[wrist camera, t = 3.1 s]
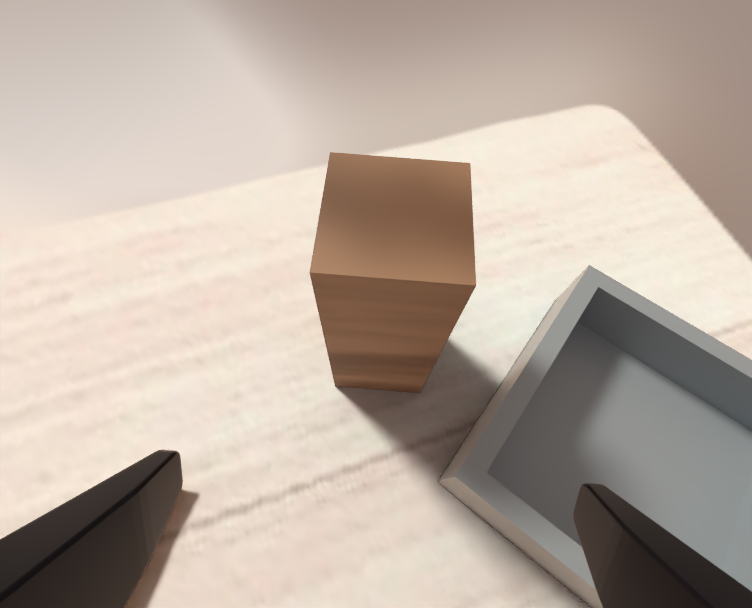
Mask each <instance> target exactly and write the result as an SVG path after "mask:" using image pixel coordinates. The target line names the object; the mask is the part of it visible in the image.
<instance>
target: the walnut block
mask: <svg viewBox="0 0 752 608" xmlns="http://www.w3.org/2000/svg"><path fill="white" fill-rule="evenodd" d="M310 276H311V280H312V285H313V289H314V294H315V298H316V303H317V307H318V312H319V316H320V320H321V325H322V329H323V334H324V338H325V343H326V347H327V352H328V356H329V360H330V365H331V369H332V374H333V378H334V383H335V386H339V387H352V388H364V389H377V390H390V391H402V392H415V393H420V391H421V389H422V387H423V385H424V383H425V381H426V380H427V378H428V376H429V374H430V372H431V370H432V368H433V366H434V364H435V362H436V361H437V359H438V357H439V355H440V353H441V351H442V349H443V347H444V345H445V343H446V342H447V340H448V338H449V336H450V334H451V332H452V330H453V328H454V326H455V324H456V323H457V321H458V319H459V317H460V315H461V313H462V311H463V309H464V307H465V305H466V304H467V302H468V300H469V298H470V296H471V294H472V292H473V290H474V288H475V286H476V275H475V254H474V233H473V212H472V191H471V170H470V163H461V162H448V161H435V160H422V159H409V158H396V157H383V156H370V155H357V154H344V153H331V152H330V157H329V162H328V168H327V174H326V180H325V186H324V192H323V197H322V203H321V209H320V215H319V221H318V227H317V233H316V239H315V244H314V250H313V256H312V262H311V268H310Z"/></svg>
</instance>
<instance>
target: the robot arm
mask: <svg viewBox="0 0 752 608" xmlns="http://www.w3.org/2000/svg"><path fill="white" fill-rule="evenodd" d="M182 483H183V479H182V469H181V459H180V454H179V453H178V452H177V451H171V450H158V451H156V452H154V453H153V454H151V455H149V456H147V457H145V458H144V459H142V460H140V461H138V462H137V463H135V464H133V465H131V466H129V467H128V468H126V469H124V470H122V471H121V472H119V473H117V474H115V475H114V476H112V477H110V478H108V479H106V480H105V481H103V482H101V483H99V484H98V485H96V486H94V487H92V488H91V489H89V490H87V491H85V492H83V493H82V494H80V495H78V496H76V497H75V498H73V499H71V500H69V501H67V502H66V503H64V504H62V505H60V506H59V507H57V508H55V509H53V510H52V511H50V512H48V513H46V514H44V515H43V516H41V517H39V518H37V519H36V520H34V521H32V522H30V523H28V524H27V525H25V526H23V527H21V528H20V529H18V530H16V531H14V532H12V533H11V534H9V535H7V536H5V537H4V538H2V539H0V608H124V607H125V605H126V603H127V602H128V600H129V598H130V596H131V594H132V593H133V591H134V589H135V587H136V585H137V584H138V582H139V580H140V578H141V576H142V575H143V573H144V571H145V569H146V567H147V565H148V563H149V561H150V559H151V557H152V555H153V553H154V551H155V549H156V546H157V544H158V542H159V540H160V537H161V535H162V533H163V530H164V528H165V526H166V524H167V521H168V519H169V517H170V515H171V512H172V510H173V508H174V505H175V503H176V501H177V499H178V496H179V494H180V492H181V488H182ZM573 519H574V524H575V527H576V530H577V533H578V536H579V539H580V542H581V545H582V549H583V552H584V555H585V558H586V561H587V564H588V567H589V570H590V573H591V576H592V579H593V582H594V585H595V588H596V591H597V594H598V597H599V599H600V602H601V604H602V607H603V608H752V591H750V590H749V589H748V588H746V587H745V586H744V585H742V584H741V583H739V582H738V581H737V580H735V579H734V578H732V577H731V576H730V575H728V574H727V573H725V572H724V571H723V570H721V569H720V568H719V567H717V566H716V565H714V564H713V563H712V562H710V561H709V560H707V559H706V558H705V557H703V556H702V555H700V554H699V553H698V552H696V551H695V550H693V549H692V548H691V547H689V546H688V545H687V544H685V543H684V542H682V541H681V540H680V539H678V538H677V537H675V536H674V535H673V534H671V533H670V532H668V531H667V530H666V529H664V528H663V527H662V526H660V525H659V524H657V523H656V522H655V521H653V520H652V519H650V518H649V517H648V516H646V515H645V514H643V513H642V512H641V511H639V510H638V509H636V508H635V507H634V506H632V505H631V504H630V503H628V502H627V501H625V500H624V499H623V498H621V497H620V496H618V495H617V494H616V493H614V492H613V491H611V490H610V489H609V488H607V487H606V486H604V485H602V484H595V483H584V484H582V485H581V487H580V490H579V494H578V497H577V500H576V504H575V507H574V511H573Z"/></svg>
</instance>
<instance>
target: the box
mask: <svg viewBox="0 0 752 608" xmlns="http://www.w3.org/2000/svg"><path fill="white" fill-rule="evenodd" d="M437 482H439V483H440V484H441V485H442V486H444V487H445V488H446V489H447V490H448V491H450V492H451V493H452V494H453V495H455V496H456V497H457V498H458V499H459V500H461V501H462V502H463V503H464V504H466V505H467V506H468V507H469V508H470V509H472V510H473V511H474V512H475V513H477V514H478V515H479V516H480V517H481V518H483V519H484V520H485V521H486V522H488V523H489V524H490V525H491V526H492V527H494V528H495V529H496V530H497V531H499V532H500V533H501V534H502V535H503V536H505V537H506V538H507V539H508V540H510V541H511V542H512V543H513V544H514V545H516V546H517V547H518V548H519V549H520V550H522V551H523V552H524V553H525V554H527V555H528V556H529V557H530V558H531V559H533V560H534V561H535V562H536V563H538V564H539V565H540V566H541V567H542V568H544V569H545V570H546V571H547V572H549V573H550V574H551V575H552V576H553V577H555V578H556V579H557V580H558V581H560V582H561V583H562V584H563V585H564V586H566V587H567V588H568V589H569V590H571V591H572V592H573V593H574V594H575V595H577V596H578V597H579V598H580V599H582V600H583V601H584V602H585V603H586V604H588V605H589V606H590V607H591V608H603V607H602V604H601V602H600V599H599V597H598V594H597V591H596V588H595V585H594V582H593V579H592V576H591V573H590V570H589V567H588V564H587V561H586V558H585V555H584V552H583V549H582V545H581V542H580V539H579V536H578V533H577V530H576V527H575V524H574V519H573V511H574V507H575V504H576V500H577V497H578V494H579V490H580V487H581V485H582V484H584V483H595V484H602V485H604V486H606V487H607V488H609V489H610V490H611V491H613V492H614V493H616V494H617V495H618V496H620V497H621V498H623V499H624V500H625V501H627V502H628V503H630V504H631V505H632V506H634V507H635V508H636V509H638V510H639V511H641V512H642V513H643V514H645V515H646V516H648V517H649V518H650V519H652V520H653V521H655V522H656V523H657V524H659V525H660V526H662V527H663V528H664V529H666V530H667V531H668V532H670V533H671V534H673V535H674V536H675V537H677V538H678V539H680V540H681V541H682V542H684V543H685V544H687V545H688V546H689V547H691V548H692V549H693V550H695V551H696V552H698V553H699V554H700V555H702V556H703V557H705V558H706V559H707V560H709V561H710V562H712V563H713V564H714V565H716V566H717V567H719V568H720V569H721V570H723V571H724V572H725V573H727V574H728V575H730V576H731V577H732V578H734V579H735V580H737V581H738V582H739V583H741V584H742V585H744V586H745V587H746V588H748V589H749V590H750V591H752V360H751V359H749V358H747V357H746V356H744V355H742V354H741V353H739V352H737V351H735V350H734V349H732V348H730V347H729V346H727V345H725V344H723V343H722V342H720V341H718V340H717V339H715V338H713V337H711V336H710V335H708V334H706V333H705V332H703V331H701V330H699V329H698V328H696V327H694V326H693V325H691V324H689V323H687V322H686V321H684V320H682V319H681V318H679V317H677V316H675V315H674V314H672V313H670V312H669V311H667V310H665V309H663V308H662V307H660V306H658V305H657V304H655V303H653V302H651V301H650V300H648V299H646V298H645V297H643V296H641V295H639V294H638V293H636V292H634V291H633V290H631V289H629V288H627V287H626V286H624V285H622V284H621V283H619V282H617V281H615V280H614V279H612V278H610V277H609V276H607V275H605V274H604V273H602V272H600V271H598V270H597V269H595V268H593V267H592V266H590V265H589V266H588V267H587V268H586V269H585V270H584V271H583V272H582V273H581V274H580V275H579V276H578V277H577V278H576V279H575V281H574V282H573V283H572V284H571V285H570V286H569V287H568V288H567V289H566V290H565V291H564V292H563V293H562V294H561V295H560V296H559V297H558V298H557V299H556V300H555V302H554V303H553V305H552V306H551V308H550V309H549V311H548V312H547V314H546V315H545V317H544V318H543V320H542V322H541V323H540V325H539V326H538V328H537V329H536V331H535V332H534V334H533V335H532V337H531V338H530V340H529V341H528V343H527V345H526V346H525V348H524V349H523V351H522V352H521V354H520V355H519V357H518V358H517V360H516V361H515V363H514V365H513V366H512V368H511V369H510V371H509V372H508V374H507V375H506V377H505V378H504V380H503V381H502V383H501V385H500V386H499V388H498V389H497V391H496V392H495V394H494V395H493V397H492V398H491V400H490V401H489V403H488V405H487V406H486V408H485V409H484V411H483V412H482V414H481V415H480V417H479V418H478V420H477V421H476V423H475V425H474V426H473V428H472V429H471V431H470V432H469V434H468V435H467V437H466V438H465V440H464V441H463V443H462V444H461V446H460V448H459V449H458V451H457V452H456V454H455V455H454V457H453V458H452V460H451V461H450V463H449V464H448V466H447V468H446V469H445V471H444V472H443V474H442V475H441V477H440V478H439V480H438V481H437Z"/></svg>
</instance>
